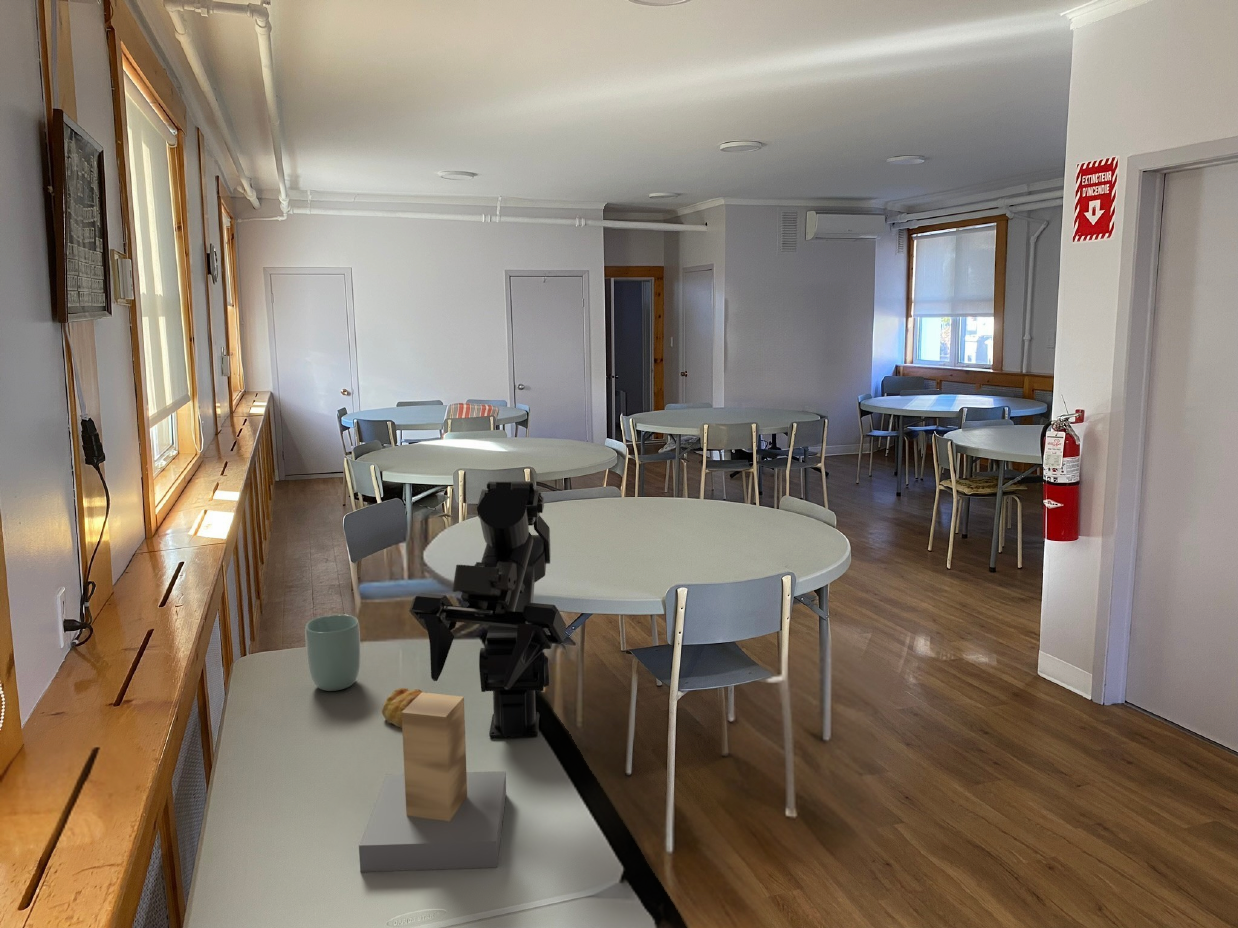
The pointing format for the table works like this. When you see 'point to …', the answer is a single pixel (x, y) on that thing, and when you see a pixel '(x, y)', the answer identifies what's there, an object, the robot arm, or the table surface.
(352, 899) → the table surface
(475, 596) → the robot arm
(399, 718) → the pastry
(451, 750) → the oak block
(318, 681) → the cup
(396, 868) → the plinth
